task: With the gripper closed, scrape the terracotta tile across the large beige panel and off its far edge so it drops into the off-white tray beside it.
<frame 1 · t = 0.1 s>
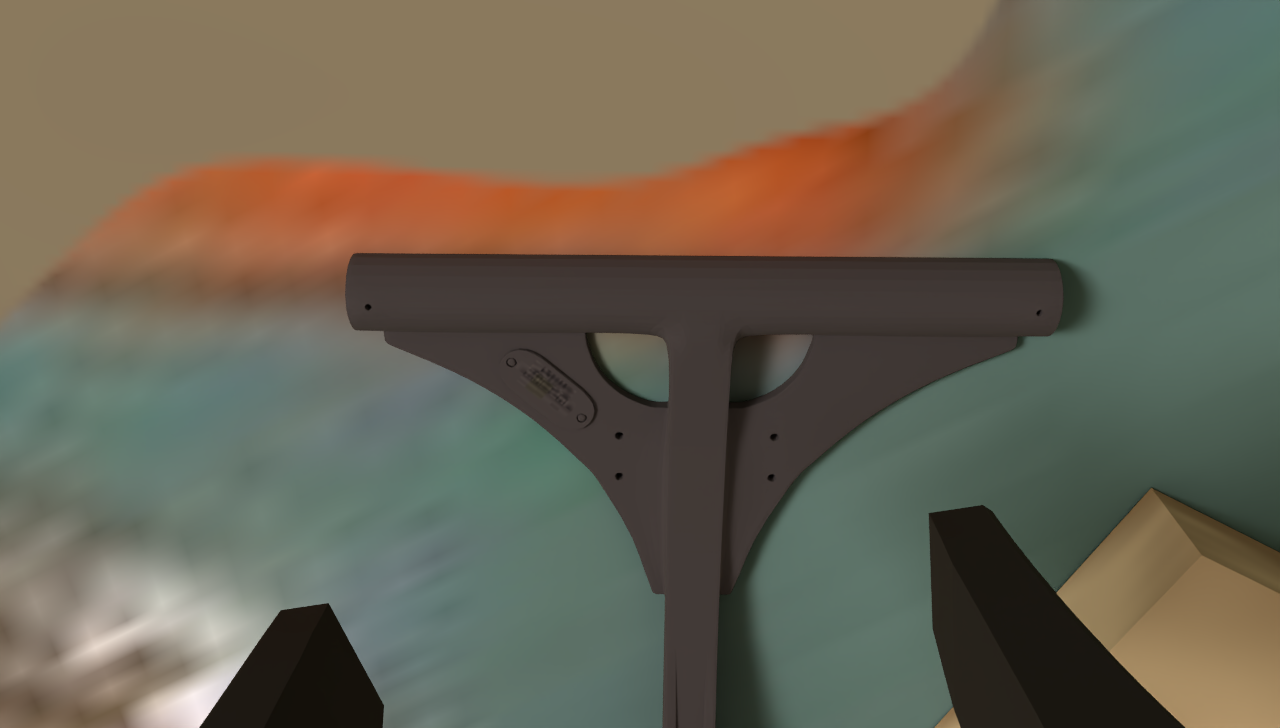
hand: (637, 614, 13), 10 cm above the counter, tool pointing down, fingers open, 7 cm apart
bracket: (686, 524, 26), on the counter
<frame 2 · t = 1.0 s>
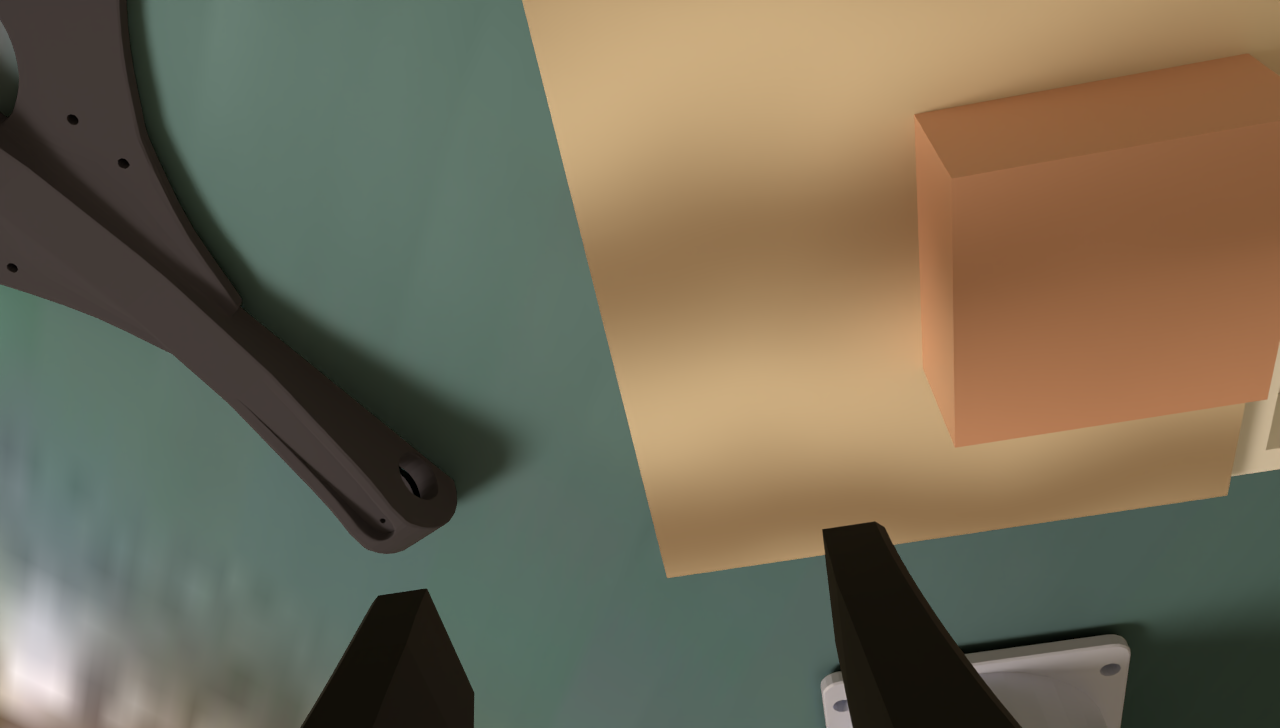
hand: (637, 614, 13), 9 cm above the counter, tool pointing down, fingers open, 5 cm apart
bracket: (179, 265, 22), on the counter
large beige panel: (900, 181, 20), on the counter
tile: (1070, 226, 18), point 2 cm above the counter, touching large beige panel
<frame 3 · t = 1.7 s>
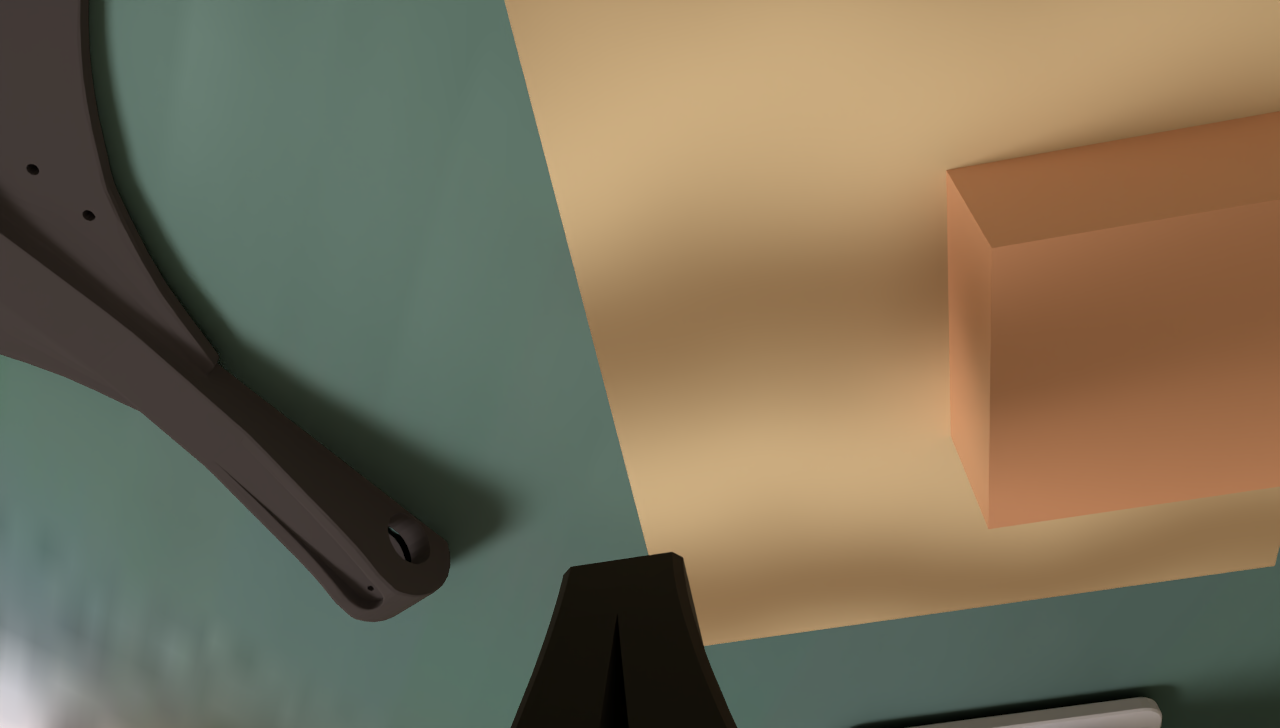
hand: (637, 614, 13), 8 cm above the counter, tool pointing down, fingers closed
bracket: (153, 318, 20), on the counter
large beige panel: (925, 233, 18), on the counter
tile: (1113, 287, 16), point 2 cm above the counter, touching large beige panel
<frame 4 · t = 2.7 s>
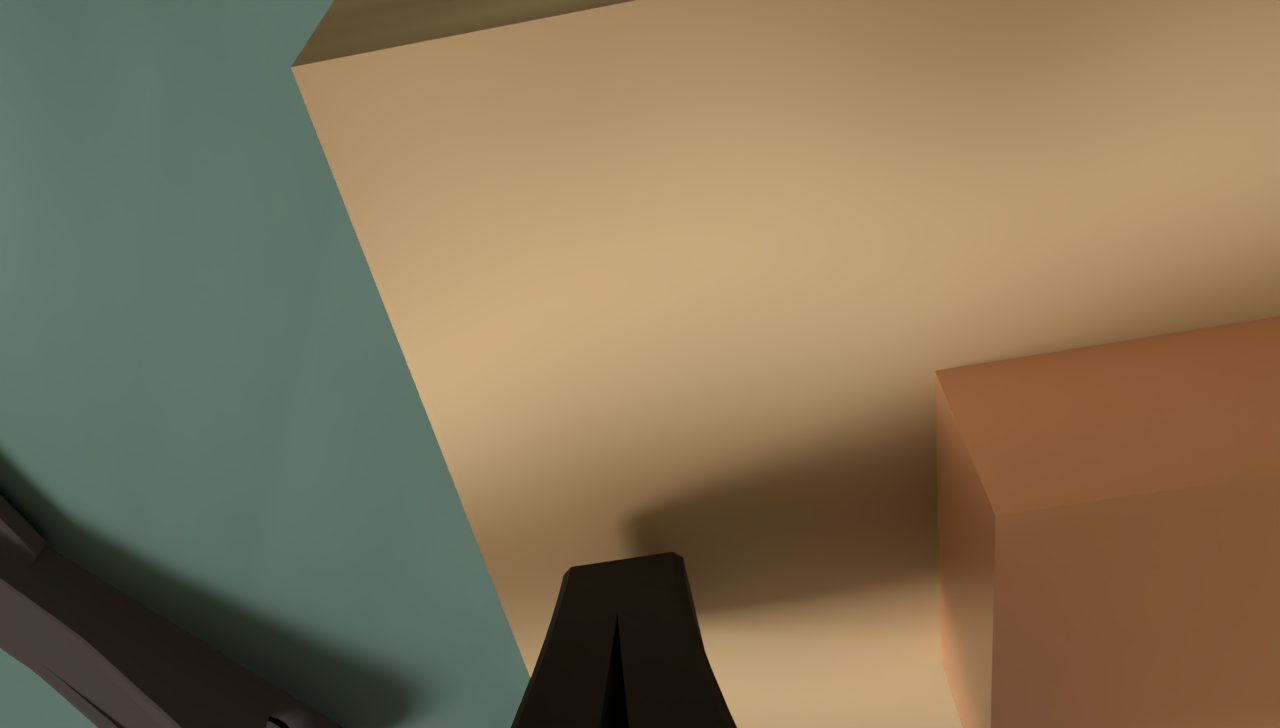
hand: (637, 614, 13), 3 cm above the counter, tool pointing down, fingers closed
large beige panel: (911, 401, 15), on the counter
tile: (1149, 501, 13), point 2 cm above the counter, touching large beige panel
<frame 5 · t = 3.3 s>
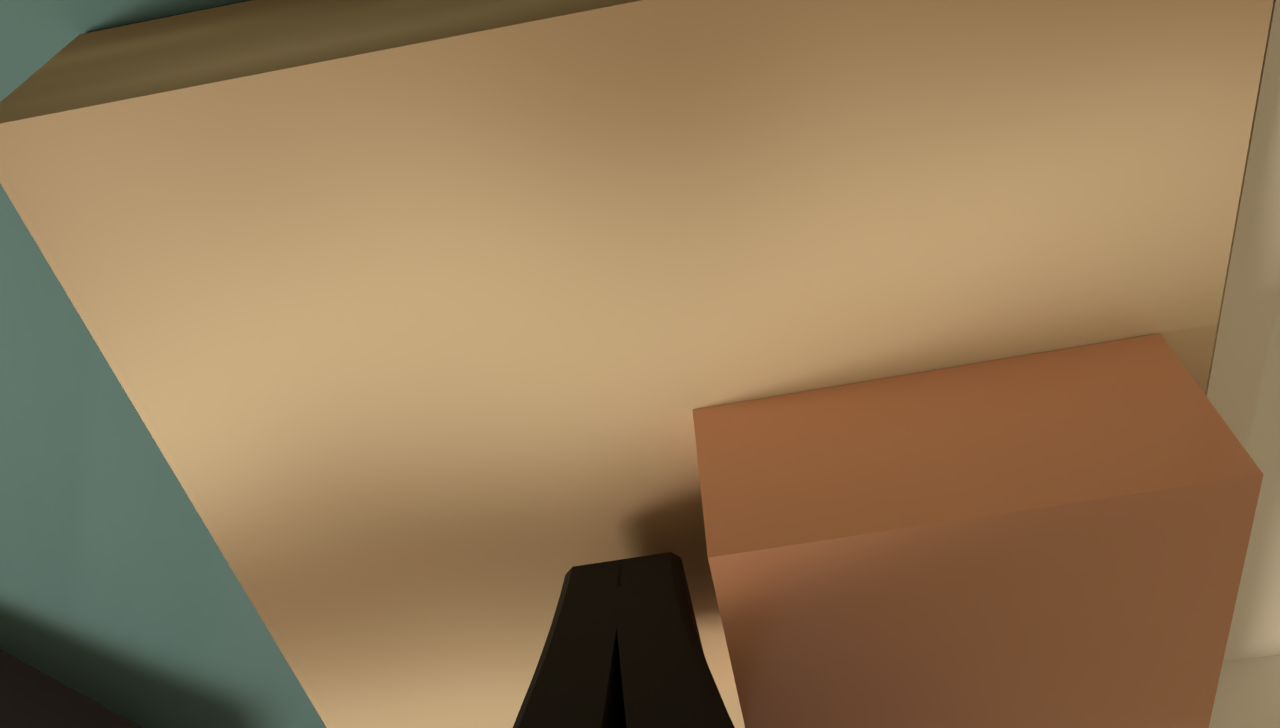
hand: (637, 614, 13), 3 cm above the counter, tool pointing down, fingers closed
large beige panel: (696, 435, 15), on the counter
tile: (927, 533, 13), point 3 cm above the counter, touching gripper
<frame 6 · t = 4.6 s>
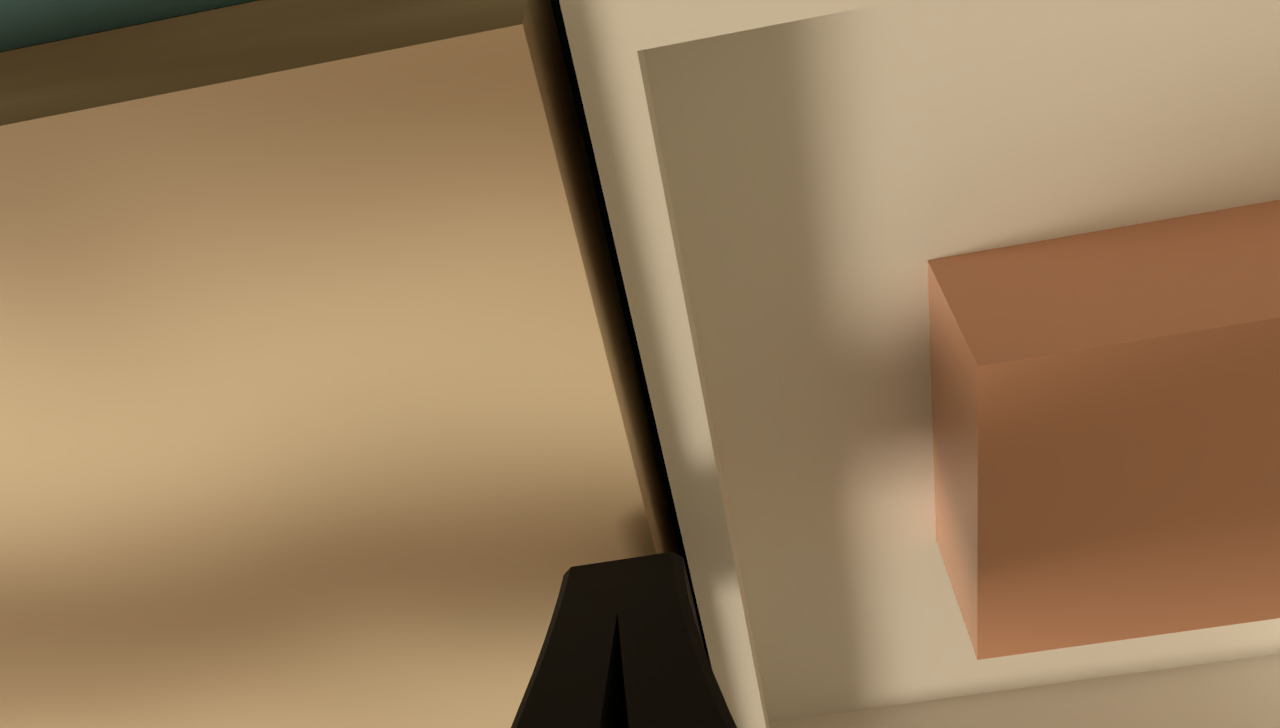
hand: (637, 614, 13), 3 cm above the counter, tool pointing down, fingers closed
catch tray: (1035, 382, 15), on the counter
large beige panel: (272, 503, 16), on the counter
tile: (1191, 498, 13), point 3 cm above the counter, tilted 180°, touching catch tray
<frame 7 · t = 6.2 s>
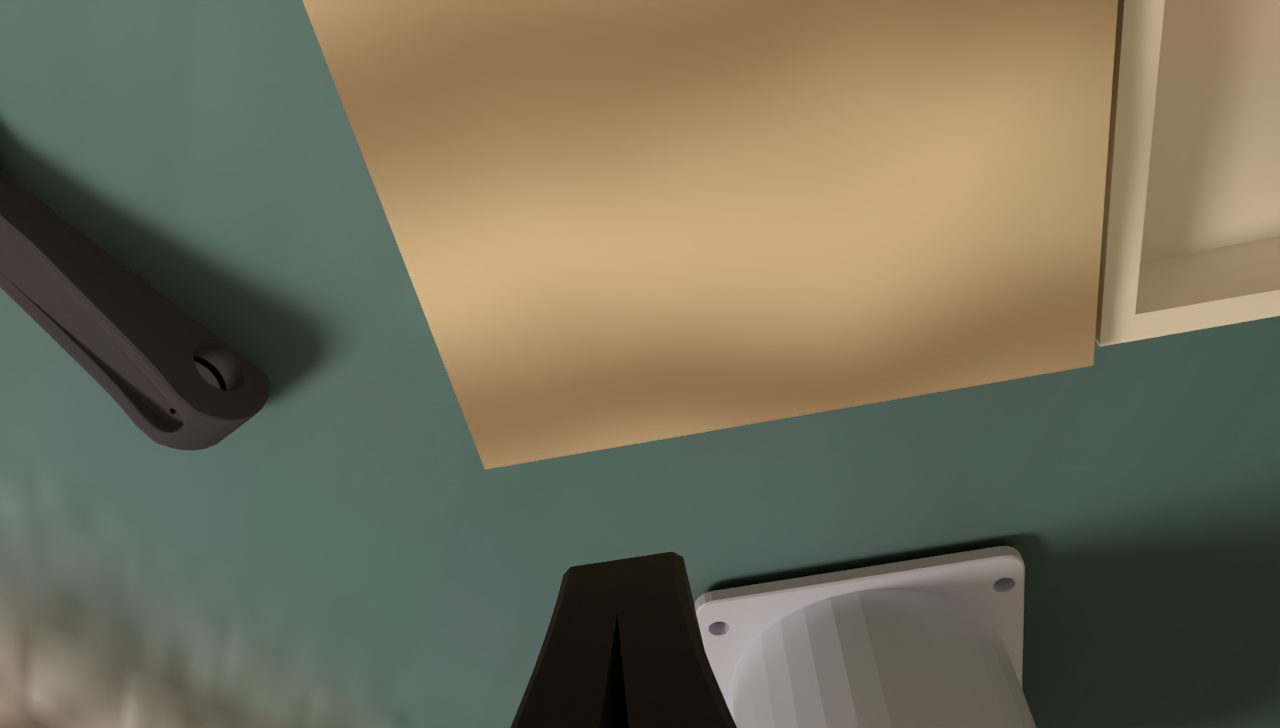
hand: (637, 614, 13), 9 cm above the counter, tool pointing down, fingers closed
large beige panel: (711, 9, 18), on the counter
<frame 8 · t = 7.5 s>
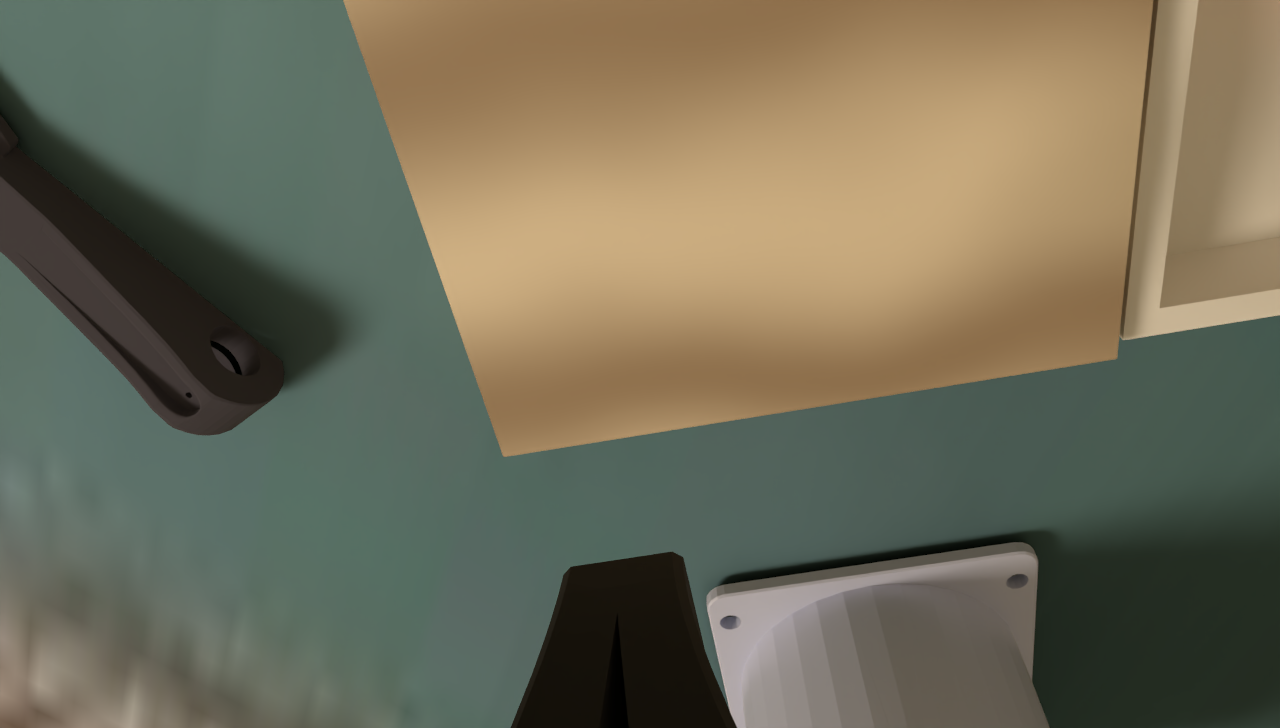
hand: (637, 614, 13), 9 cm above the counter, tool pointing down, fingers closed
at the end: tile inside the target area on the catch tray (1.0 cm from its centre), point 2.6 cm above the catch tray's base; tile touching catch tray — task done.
